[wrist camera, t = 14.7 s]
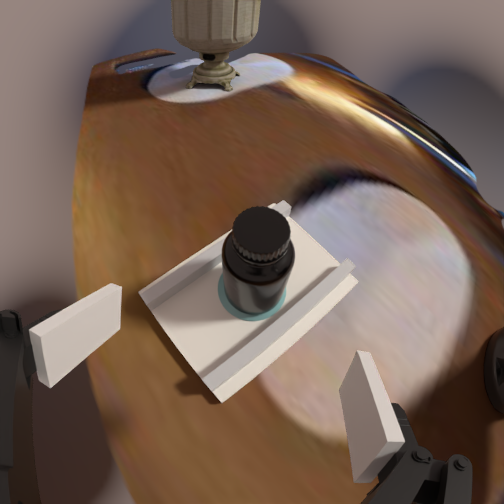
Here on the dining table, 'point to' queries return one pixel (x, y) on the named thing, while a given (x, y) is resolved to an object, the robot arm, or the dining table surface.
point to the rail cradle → (240, 324)
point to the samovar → (214, 34)
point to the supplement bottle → (257, 260)
